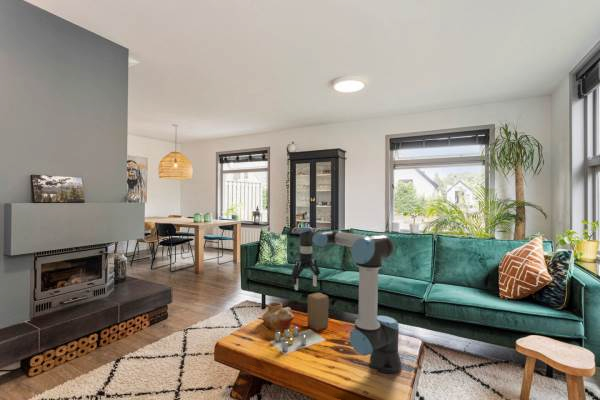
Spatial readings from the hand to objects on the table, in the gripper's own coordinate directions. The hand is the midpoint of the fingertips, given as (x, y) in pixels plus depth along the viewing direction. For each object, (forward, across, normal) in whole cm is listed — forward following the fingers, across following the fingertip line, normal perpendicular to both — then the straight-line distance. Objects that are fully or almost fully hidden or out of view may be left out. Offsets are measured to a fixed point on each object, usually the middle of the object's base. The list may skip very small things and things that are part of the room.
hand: (305, 287), depth 176 cm
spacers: (+27, +15, +7) cm, 31 cm away
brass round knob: (+27, +16, +7) cm, 32 cm away
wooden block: (+28, -12, -4) cm, 31 cm away
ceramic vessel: (+28, +10, -15) cm, 33 cm away
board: (+28, +10, +7) cm, 30 cm away
